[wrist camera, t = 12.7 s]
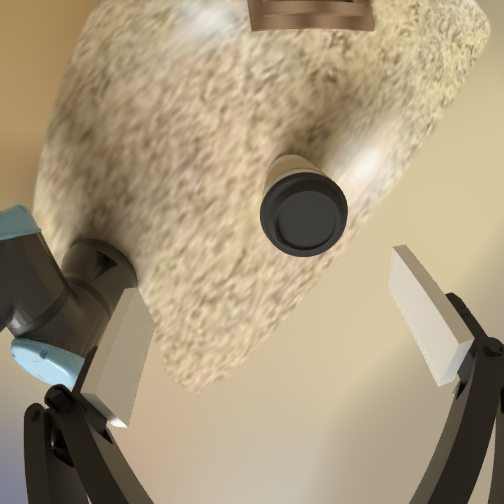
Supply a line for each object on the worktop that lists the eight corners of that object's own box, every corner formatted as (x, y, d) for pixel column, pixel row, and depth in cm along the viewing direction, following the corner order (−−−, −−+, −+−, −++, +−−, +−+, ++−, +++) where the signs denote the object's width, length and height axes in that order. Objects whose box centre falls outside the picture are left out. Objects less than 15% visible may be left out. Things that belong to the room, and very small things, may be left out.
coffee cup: (314, 139, 37) (346, 169, 25) (328, 198, 42) (359, 253, 29) (250, 156, 39) (247, 195, 26) (269, 214, 43) (274, 275, 31)
